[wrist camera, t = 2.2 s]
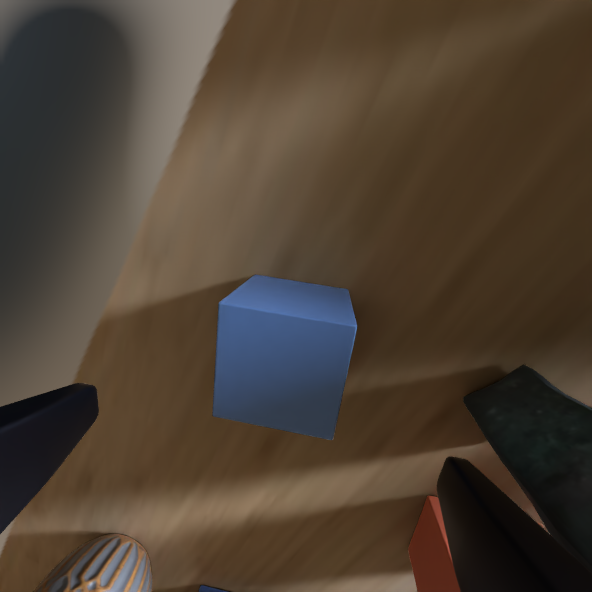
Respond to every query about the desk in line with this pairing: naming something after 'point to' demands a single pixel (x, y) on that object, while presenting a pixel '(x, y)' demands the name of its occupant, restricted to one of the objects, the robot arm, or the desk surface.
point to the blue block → (283, 355)
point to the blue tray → (209, 589)
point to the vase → (102, 568)
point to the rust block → (432, 552)
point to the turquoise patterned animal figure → (543, 451)
